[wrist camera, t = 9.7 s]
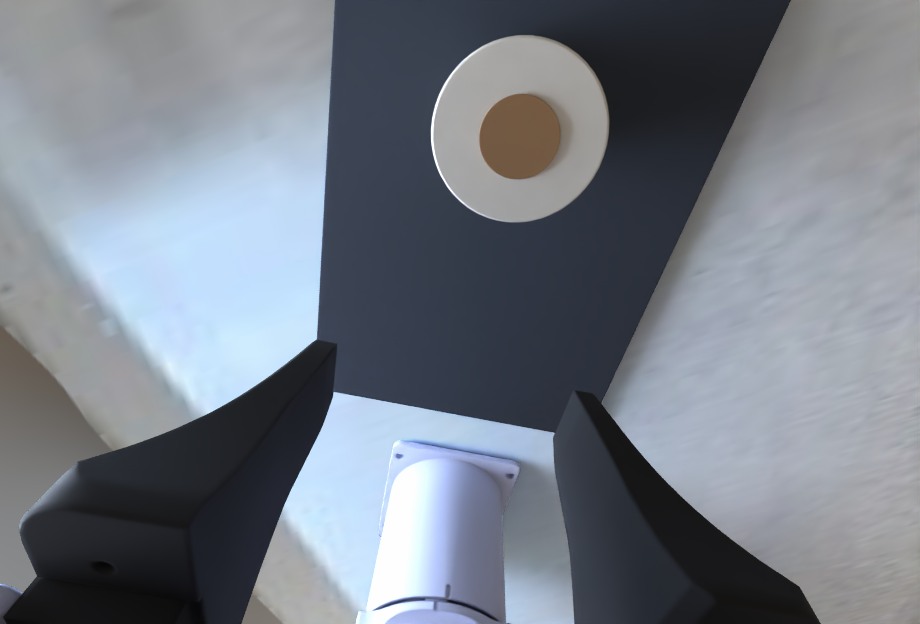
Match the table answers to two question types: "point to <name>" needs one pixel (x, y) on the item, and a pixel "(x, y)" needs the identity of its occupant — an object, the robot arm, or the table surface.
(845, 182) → the table surface
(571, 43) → the desk mat
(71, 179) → the table surface
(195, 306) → the table surface
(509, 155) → the paper roll
